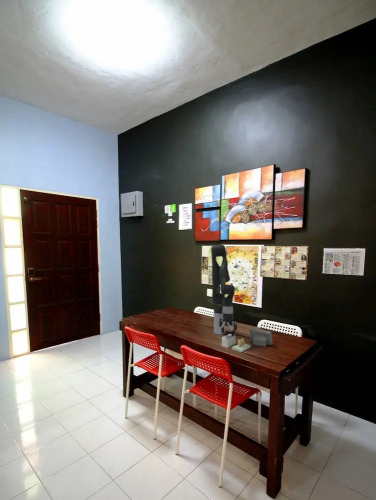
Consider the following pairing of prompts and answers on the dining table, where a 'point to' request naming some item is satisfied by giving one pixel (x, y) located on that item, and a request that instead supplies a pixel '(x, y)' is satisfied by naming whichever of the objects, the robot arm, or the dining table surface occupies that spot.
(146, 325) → the dining table surface
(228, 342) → the plug housing
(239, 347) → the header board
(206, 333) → the dining table surface
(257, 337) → the digital clock
